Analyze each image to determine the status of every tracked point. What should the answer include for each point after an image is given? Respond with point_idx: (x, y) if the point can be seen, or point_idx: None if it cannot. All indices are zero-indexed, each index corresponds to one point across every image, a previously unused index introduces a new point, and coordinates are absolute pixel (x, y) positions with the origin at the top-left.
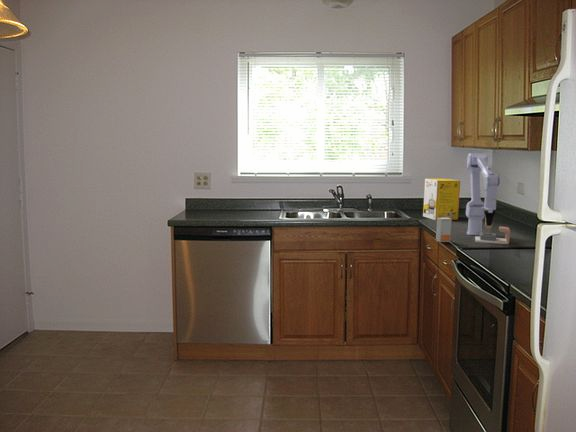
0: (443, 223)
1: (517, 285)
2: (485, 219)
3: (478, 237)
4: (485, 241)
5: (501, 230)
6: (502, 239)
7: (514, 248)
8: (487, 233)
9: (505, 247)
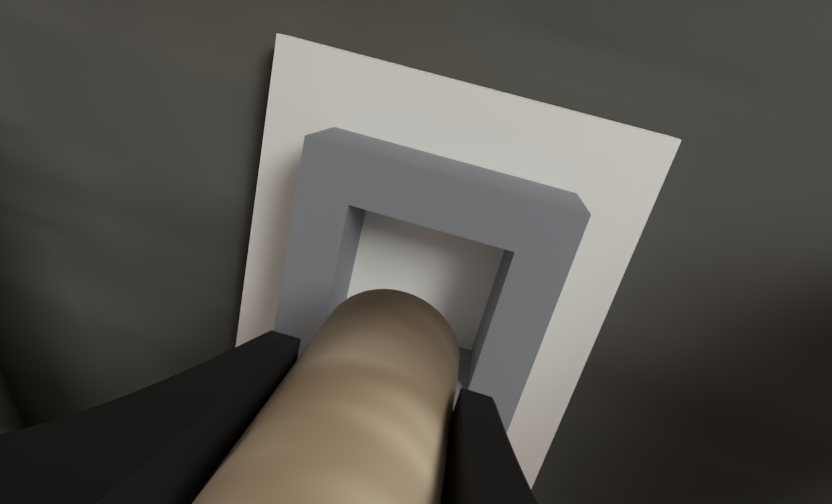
0: None
1: None
2: (321, 423)
3: (555, 164)
4: (261, 183)
5: None
6: None
7: (7, 390)
8: (493, 322)
9: (25, 320)
